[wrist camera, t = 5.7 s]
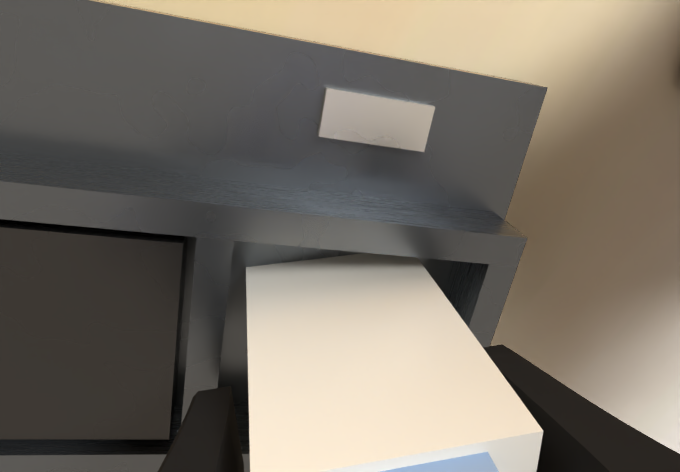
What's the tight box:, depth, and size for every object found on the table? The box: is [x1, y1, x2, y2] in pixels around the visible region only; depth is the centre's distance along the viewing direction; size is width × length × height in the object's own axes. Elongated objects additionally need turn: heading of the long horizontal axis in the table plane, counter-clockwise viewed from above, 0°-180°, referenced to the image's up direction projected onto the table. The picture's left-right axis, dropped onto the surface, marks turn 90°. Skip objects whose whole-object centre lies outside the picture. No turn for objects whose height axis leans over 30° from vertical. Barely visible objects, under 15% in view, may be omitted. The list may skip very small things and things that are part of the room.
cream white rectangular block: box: [246, 253, 543, 472], centre depth 10 cm, size 4×4×7 cm
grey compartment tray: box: [0, 0, 547, 472], centre depth 11 cm, size 20×13×3 cm, turn 79°
